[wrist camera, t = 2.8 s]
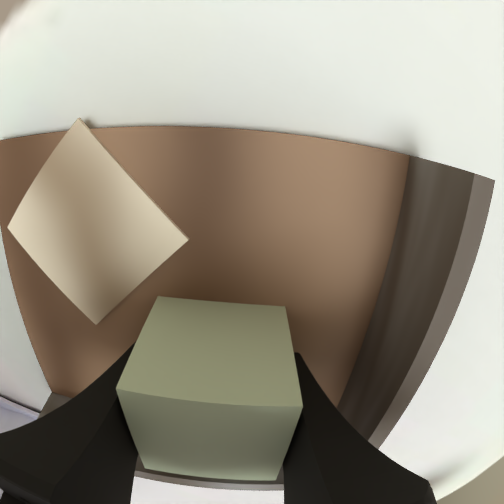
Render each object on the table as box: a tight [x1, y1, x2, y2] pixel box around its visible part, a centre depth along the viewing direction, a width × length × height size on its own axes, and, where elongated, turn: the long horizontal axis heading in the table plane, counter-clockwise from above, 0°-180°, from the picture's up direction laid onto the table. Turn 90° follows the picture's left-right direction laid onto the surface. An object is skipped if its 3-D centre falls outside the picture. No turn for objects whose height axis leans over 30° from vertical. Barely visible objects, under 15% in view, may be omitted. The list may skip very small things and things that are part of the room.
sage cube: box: [116, 296, 303, 480], centre depth 9 cm, size 4×4×4 cm
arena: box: [0, 118, 495, 491], centre depth 10 cm, size 16×14×4 cm
